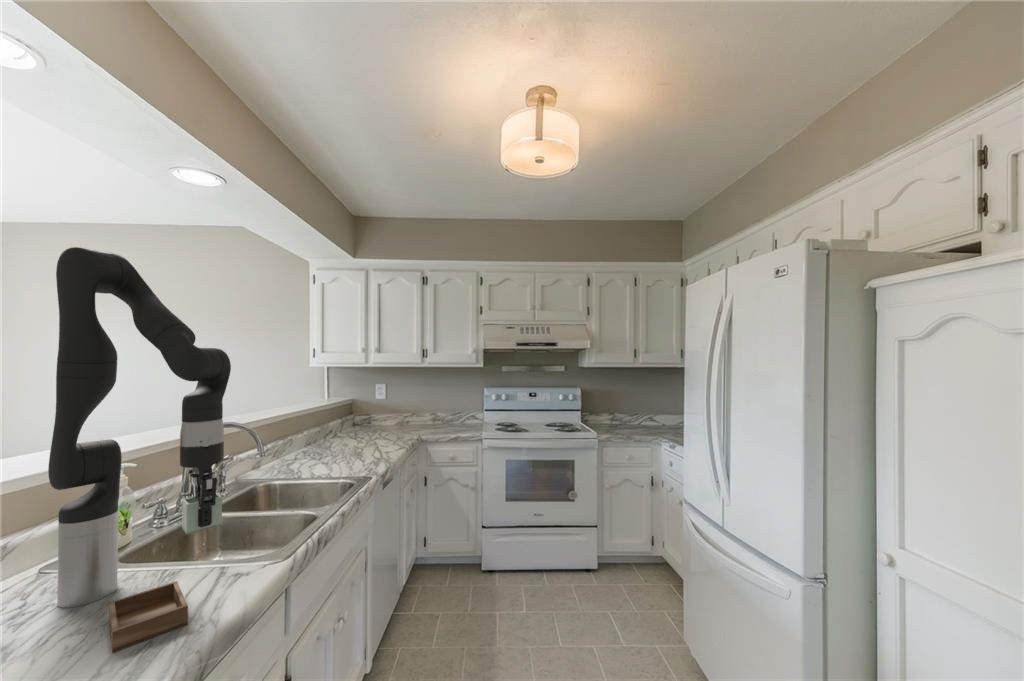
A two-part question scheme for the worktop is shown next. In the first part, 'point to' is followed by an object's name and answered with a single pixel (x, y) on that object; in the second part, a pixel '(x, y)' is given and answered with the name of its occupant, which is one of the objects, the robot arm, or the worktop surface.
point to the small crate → (192, 514)
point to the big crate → (146, 615)
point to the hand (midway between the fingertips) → (201, 522)
